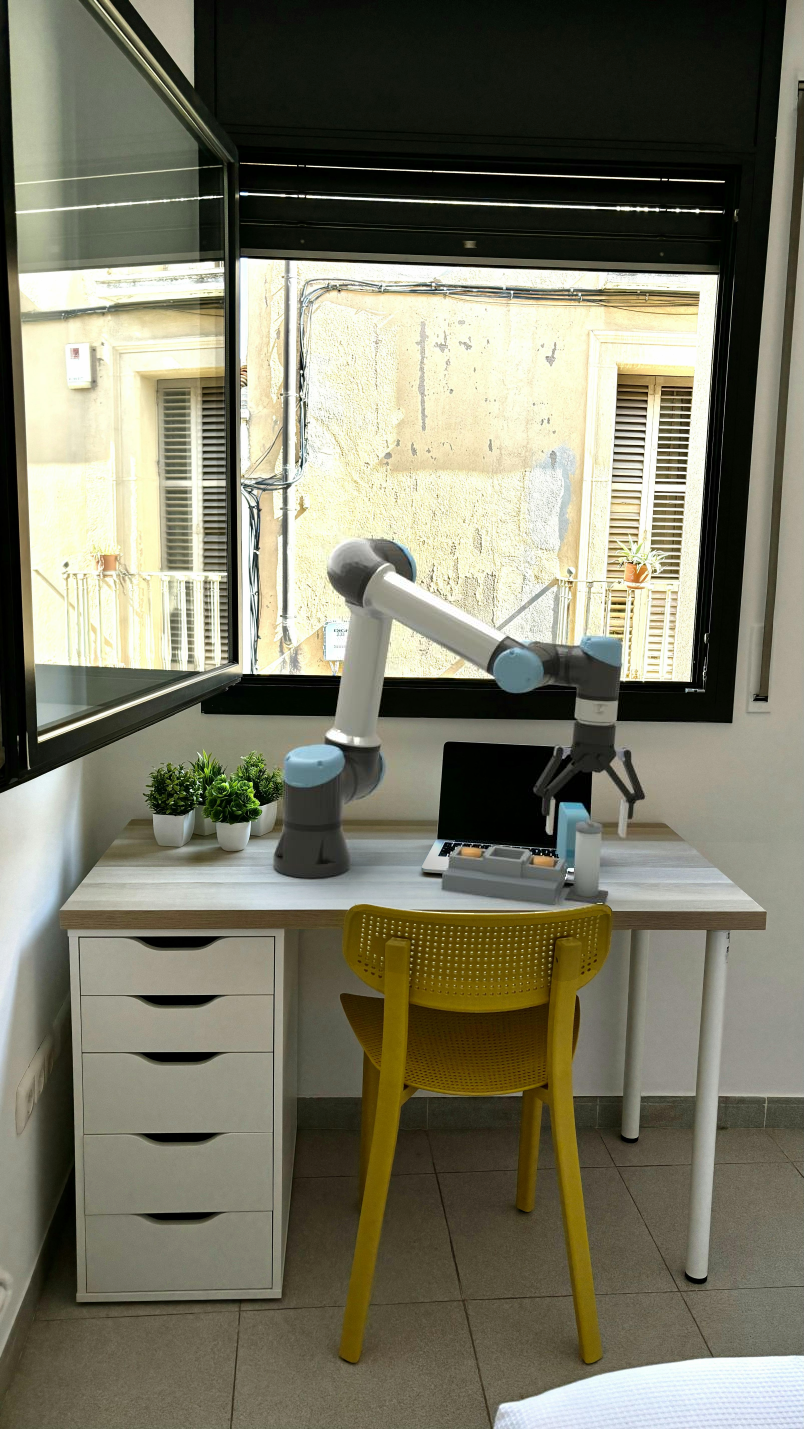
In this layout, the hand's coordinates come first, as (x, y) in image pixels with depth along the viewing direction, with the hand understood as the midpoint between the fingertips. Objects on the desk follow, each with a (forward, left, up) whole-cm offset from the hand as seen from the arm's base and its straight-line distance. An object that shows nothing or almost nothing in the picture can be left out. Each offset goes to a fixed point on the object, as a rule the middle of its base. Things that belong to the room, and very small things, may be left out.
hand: (585, 834), depth 182 cm
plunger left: (-21, -1, -8) cm, 23 cm away
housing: (-14, -1, -11) cm, 18 cm away
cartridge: (+1, -1, -11) cm, 11 cm away
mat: (+1, -2, -11) cm, 11 cm away
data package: (-4, +16, -12) cm, 21 cm away
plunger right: (-7, -1, -8) cm, 11 cm away
